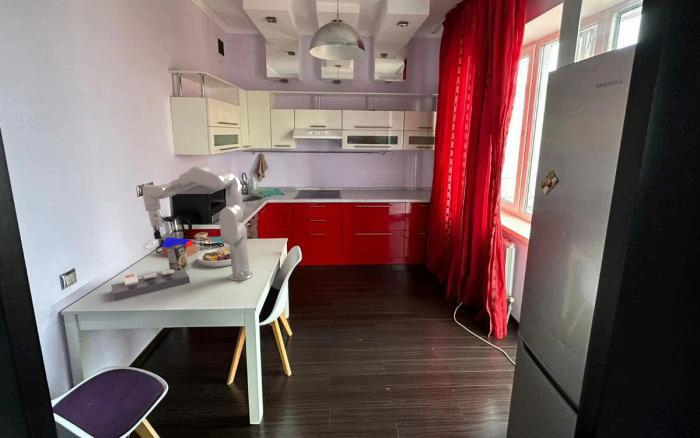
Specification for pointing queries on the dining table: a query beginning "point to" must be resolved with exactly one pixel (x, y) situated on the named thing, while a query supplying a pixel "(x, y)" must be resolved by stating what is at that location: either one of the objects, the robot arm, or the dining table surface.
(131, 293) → the grey switch panel
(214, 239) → the cutlery set
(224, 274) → the dining table surface
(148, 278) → the rocker middle
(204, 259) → the bowl
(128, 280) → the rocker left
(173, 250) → the coffee box
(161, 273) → the rocker right
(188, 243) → the house
